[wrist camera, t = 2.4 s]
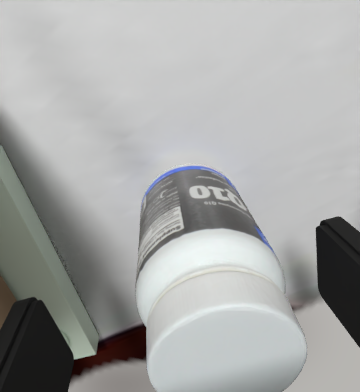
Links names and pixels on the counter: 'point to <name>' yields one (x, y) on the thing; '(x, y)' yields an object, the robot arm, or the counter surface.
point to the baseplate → (38, 265)
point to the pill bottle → (211, 290)
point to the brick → (5, 300)
